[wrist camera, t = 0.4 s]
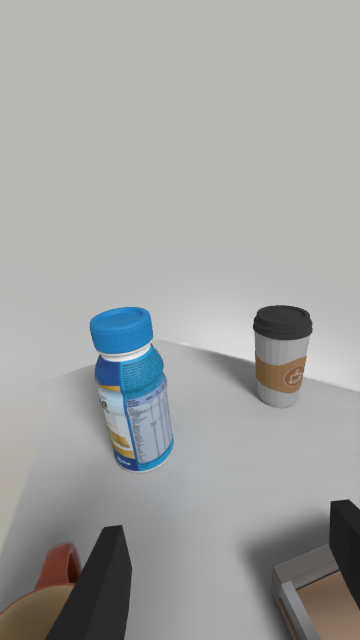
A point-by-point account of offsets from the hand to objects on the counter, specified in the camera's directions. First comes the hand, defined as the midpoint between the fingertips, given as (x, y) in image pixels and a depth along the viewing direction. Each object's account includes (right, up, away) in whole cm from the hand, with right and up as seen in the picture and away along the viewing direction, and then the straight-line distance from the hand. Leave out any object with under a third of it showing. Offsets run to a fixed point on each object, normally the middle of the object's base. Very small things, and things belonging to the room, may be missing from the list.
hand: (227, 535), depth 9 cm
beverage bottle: (-7, -11, +27) cm, 30 cm away
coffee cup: (+15, -6, +35) cm, 38 cm away
